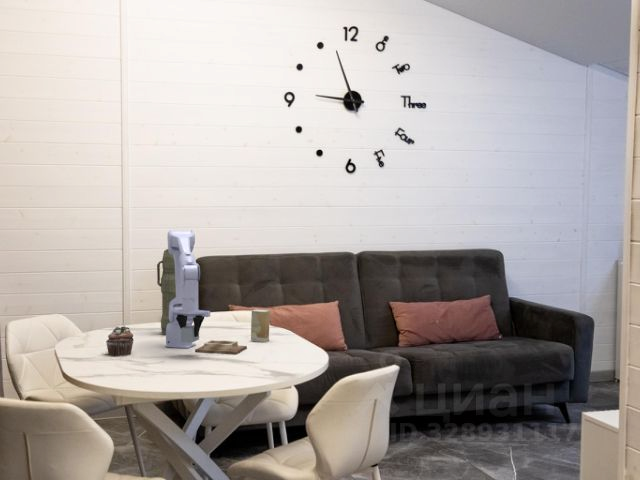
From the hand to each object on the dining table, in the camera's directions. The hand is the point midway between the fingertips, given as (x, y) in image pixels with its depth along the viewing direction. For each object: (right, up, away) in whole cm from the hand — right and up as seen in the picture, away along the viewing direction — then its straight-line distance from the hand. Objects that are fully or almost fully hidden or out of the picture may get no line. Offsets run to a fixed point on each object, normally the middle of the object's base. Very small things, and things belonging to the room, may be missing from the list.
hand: (190, 336), depth 304 cm
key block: (0, -2, 0) cm, 2 cm away
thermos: (-15, -5, +47) cm, 49 cm away
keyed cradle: (+10, -7, +11) cm, 16 cm away
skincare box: (+23, -6, +32) cm, 40 cm away
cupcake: (-26, -7, +3) cm, 27 cm away
